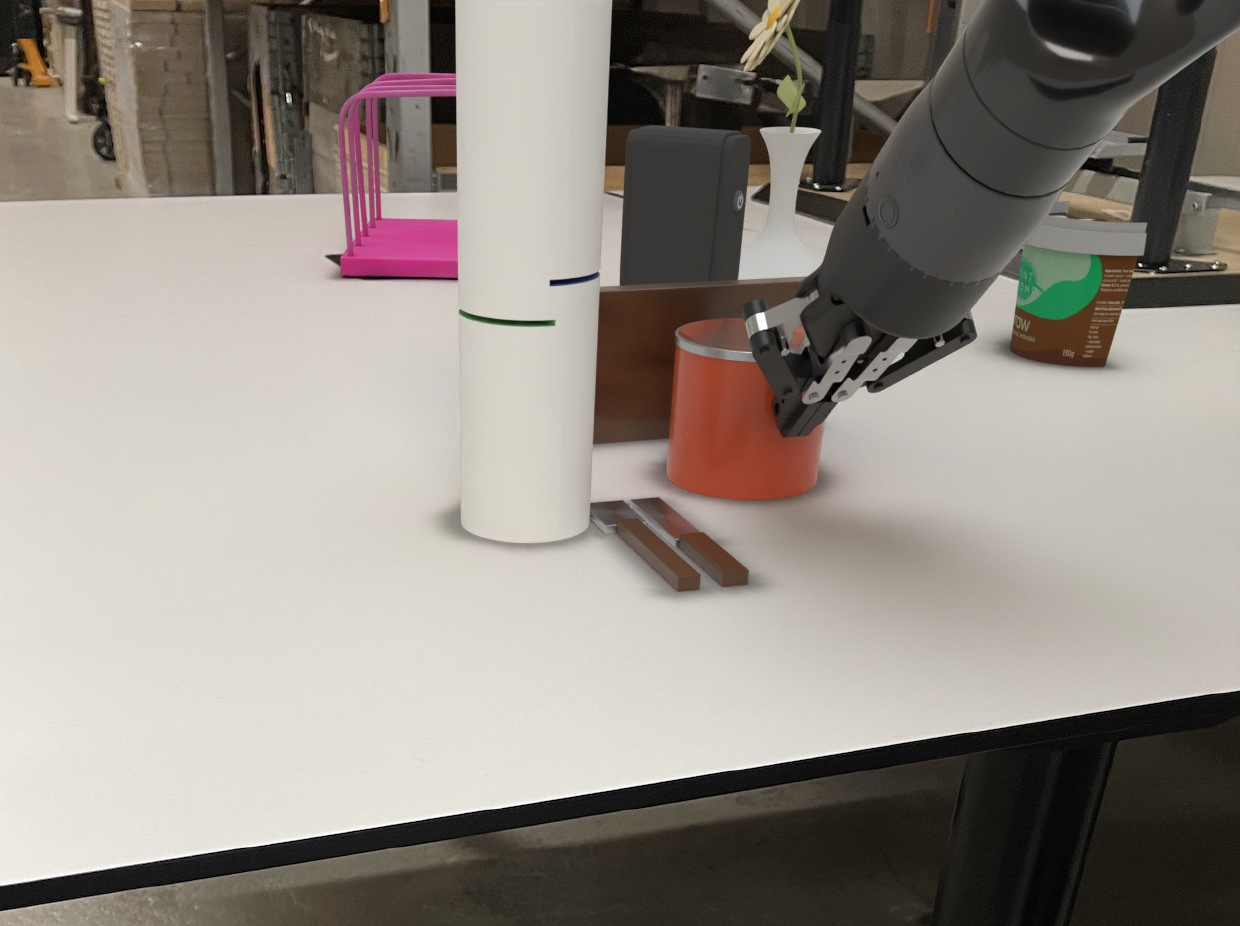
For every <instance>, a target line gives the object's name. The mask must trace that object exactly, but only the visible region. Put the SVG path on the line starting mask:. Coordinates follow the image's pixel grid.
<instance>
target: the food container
mask: <svg viewBox="0 0 1240 926" xmlns="http://www.w3.org/2000/svg"><path fill="white" fill-rule="evenodd" d="M1070 202H1071V201H1070V200H1057V202H1056V204H1055V206H1054V207H1053V209H1052V210H1051V212H1050V213H1049V215H1048V216H1047V218H1046V219H1045V220H1044V221H1043V223H1042V224H1041V225H1040V227H1039V228H1038V229H1037V231H1036V232H1035V233H1034V234H1033V236H1032V237H1031V238H1030V239H1029V240H1028V242H1027V243H1026V244H1025V245H1024V246H1023V248H1022V254H1021V260H1020V269H1019V277H1018V283H1017V284H1018V285H1017V293H1016V300H1015V308H1014V315H1013V323H1012V329H1011V330H1012V331H1011V339H1010V345H1009V351H1010V352H1011V353H1012V354H1013V355H1014V356H1017V357H1019V358H1022V359H1026V360H1028V361H1029V360H1030V361H1032V362H1038V363H1042V364H1049V365H1055V366H1064V367H1076V368H1077V367H1080V368H1105V367H1106V365H1107V361H1108V358H1109V354H1110V351H1111V347H1112V344H1113V341H1114V338H1115V334H1116V332H1117V328H1118V325H1119V321H1120V317H1121V314H1122V311H1123V309H1124V308H1123V307H1124V304H1125V301H1126V298H1127V295H1128V291H1129V288H1130V284H1131V282H1132V278H1133V275H1134V271H1135V267H1136V265H1137V261H1138V258H1139V256H1143V257H1144V256H1145V248H1146V242H1147V234H1148V233H1147V232H1146V231H1147V226H1148V222H1123V221H1121V222H1120V221H1119V222H1118V221H1117V222H1116V221H1108V220H1106V219H1105V218H1099V217H1093V218H1084V217H1083V218H1082V217H1078V216H1075V215H1072V214H1069V208H1070V204H1071V203H1070Z"/></svg>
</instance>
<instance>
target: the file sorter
mask: <svg viewBox="0 0 1240 926" xmlns="http://www.w3.org/2000/svg"><path fill="white" fill-rule="evenodd" d="M418 97H419V98H422V97H423V98H425V97H426V98H427V97H456V73H441V72H440V73H439V72H438V73H437V72H387V73H384V74H382V75H380V76H379V77H377V78H376V79H374V80H373V82H371V83H369V84H367V85H365V86H364V87H363V88H361V90H360V91H359V92H357V93H355V94H353V95H352V96H350V97H349V98H348V99H347V100H346V101H345V102H344V103H343V105H342V106H341V109H340V112H339V115H338V119H337V130H338V131H337V132H338V147H339V162H340V163H339V164H340V175H341V188H342V201H343V202H342V203H343V212H344V213H343V214H344V227H345V238H346V239H345V240H346V249H345V251H344V252H343V253H342V255H341V256H340V258H339V259H340V260H339V261H340V275H341V276H347V277H351V278H352V277H357V278H382V277H407V278H409V277H411V278H450V279H451V278H453V279H458V219H441V218H440V219H439V218H396V217H395V218H394V217H393V218H386V217H382V197H381V174H380V170H381V169H380V148H379V120H378V117H379V116H378V101H379V99H385V98H387V99H388V98H390V99H391V98H418ZM363 100H365V129H366V130H365V131H366V134H365V135H366V158H367V159H366V160H367V163H366V164H367V183H368V185H367V186H368V187H367V188H368V205H369V206H368V207H369V208H368V209H369V210H368V211H369V221H368V214H367V202H366V191H365V178H364V166H363V156H362V155H363V154H362V141H361V127H360V107H361V104H362V101H363ZM346 115H347V141H348V155H349V157H348V158H349V170H350V183H351V184H350V185H351V200H352V213H353V215H351V203H350V192H349V177H348V164H347V151H346V134H345V133H346V132H345V122H346V121H345V120H346ZM351 216H353V225H354V227H353V228H354V240H353V228H352V217H351ZM360 219H361V220H360ZM361 229H362V230H361Z"/></svg>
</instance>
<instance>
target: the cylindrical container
mask: <svg viewBox="0 0 1240 926" xmlns="http://www.w3.org/2000/svg"><path fill="white" fill-rule="evenodd" d="M454 2H455V7H454V8H455V74H456V96H455V97H456V100H455V101H456V102H455V103H456V105H455V106H456V111H455V112H456V198H457V200H456V201H457V207H456V208H457V209H456V212H457V213H456V214H457V220H458V278H457V293H458V294H457V295H458V296H457V302H458V303H457V305H458V308H459V310H458V312H457V313H458V314H457V316H458V389H459V390H458V392H459V393H458V395H459V397H458V399H459V401H458V403H459V474H460V476H459V480H460V482H459V483H460V485H459V486H460V491H459V492H460V525H461V526H462V529H465V530H466V531H467V532H468V533H470V534H473V535H474V536H478V537H480V538H483V539H487V540H492V541H496V542H503V543H513V544H514V543H516V544H540V543H551V542H557V541H563V540H566V539H570V538H572V537H575V536H578V535H580V534H582V533H584V532H585V531H586V530H587V529H588V528H589V526H590V522H591V521H590V520H591V519H590V503H591V498H592V495H591V494H592V475H593V474H592V473H593V451H594V450H593V448H594V444H593V429H594V406H595V383H596V360H597V337H598V314H599V292H600V287H601V273H600V272H599V271H600V270H601V268H602V267H601V266H602V265H601V264H602V245H603V241H602V240H603V238H602V237H603V222H604V221H603V218H604V199H605V173H606V172H605V171H606V154H607V153H606V152H607V151H606V150H607V149H606V148H607V129H608V107H609V106H608V105H609V82H610V81H609V80H610V57H611V36H612V15H613V13H612V10H613V0H454Z"/></svg>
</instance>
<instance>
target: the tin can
mask: <svg viewBox="0 0 1240 926" xmlns="http://www.w3.org/2000/svg"><path fill="white" fill-rule="evenodd" d="M803 337H804V328H803V326H802V325H800V326H799V327H798V328H796V330H795V331H794V338H793V340H792V341H791V342H789V343H788V344H789V348H790V352H791V353H795V352H796V351H797V349H798V347H799V345H800V344H801V342H802V340H803ZM674 341H675V344H676V347H675V360H674V374H673V388H672V401H671V415H670V428H669V438H668V445H667V456H666V469H665V475H666V478H667V479H668V481H669V482H671V483H672V484H673V485H675V486H676V487H677V488H679V489H682V490H685V491H688V492H690V493H693V494H698V495H702V496H707V497H712V498H718V499H725V500H735V501H736V500H737V501H767V500H780V499H786V498H792V497H795V496H799V495H801V494H805V493H807V492H809V491H811V490H812V489H813V488H814V487H816V485H817V481H818V476H819V475H818V474H819V468H820V460H821V454H822V445H823V439H824V432H825V431H824V430H825V424H826V420H825V421H824V422H822V423H821V424H820V425H818V426H817V427H815V428H814V430H813V431H812V432H811V433H810V435H809V436H803V437H789V438H783V437H782V436H781V433H780V429H777V427H776V423H775V419H774V415H773V411H772V407H771V403H772V400H773V398H774V397H775V396H776V395H775V393H774V391H773V390H772V388H771V386H770V385H769V383H768V381H767V380H766V378H765V376H764V374H763V373H762V371H761V369H760V368H759V366H758V364H757V363H756V361H755V359H754V358H753V355H752V351H751V347H750V343H749V339H748V335H747V331H746V327H745V322H744V318H722V319H711V320H703V321H697V322H692V323H689V324H685V325H683V326H681V327H679V328H678V329H677V330H676V331H675V337H674Z"/></svg>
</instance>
